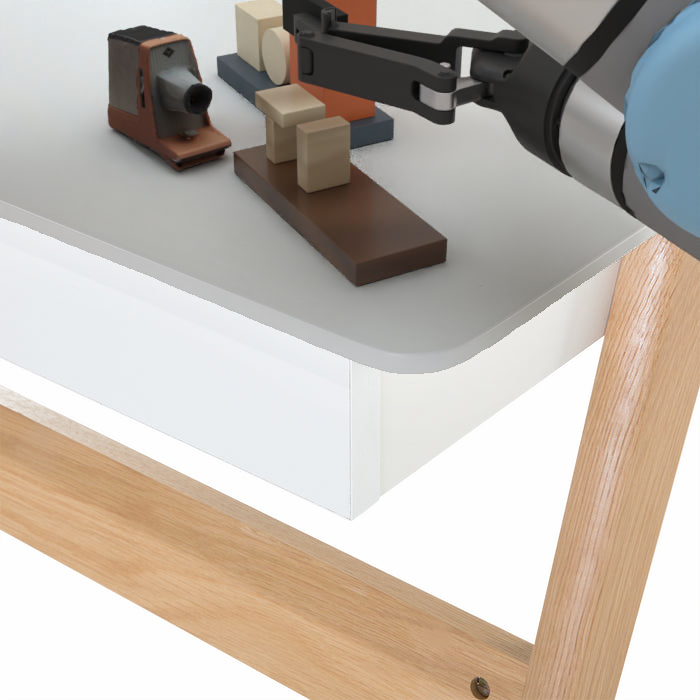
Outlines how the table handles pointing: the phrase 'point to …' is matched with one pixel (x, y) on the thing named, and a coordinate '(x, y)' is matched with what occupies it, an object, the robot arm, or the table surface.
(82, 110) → the table surface
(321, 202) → the blocks on brown board
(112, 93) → the electronic device
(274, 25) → the wooden block set
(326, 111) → the terracotta cuboid
